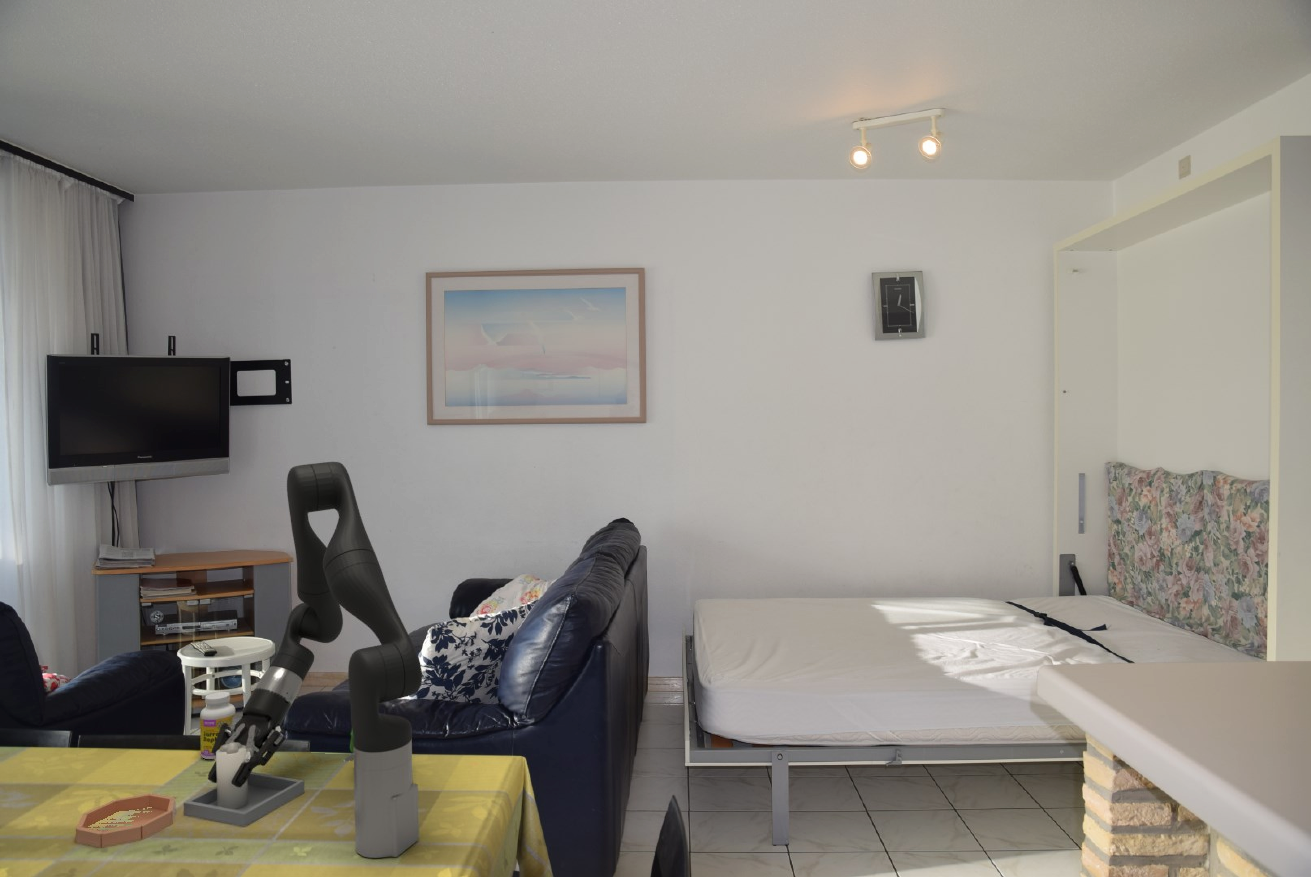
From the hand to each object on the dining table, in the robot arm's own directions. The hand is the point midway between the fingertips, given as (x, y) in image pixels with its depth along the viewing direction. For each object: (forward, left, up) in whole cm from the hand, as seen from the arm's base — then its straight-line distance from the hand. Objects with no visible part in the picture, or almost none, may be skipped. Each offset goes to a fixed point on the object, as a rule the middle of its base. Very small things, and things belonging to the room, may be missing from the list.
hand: (224, 783), depth 150 cm
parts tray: (-2, -3, -5) cm, 7 cm away
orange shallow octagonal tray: (+11, +10, -5) cm, 16 cm away
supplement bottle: (+23, -20, -6) cm, 31 cm away
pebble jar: (0, -2, -5) cm, 5 cm away
